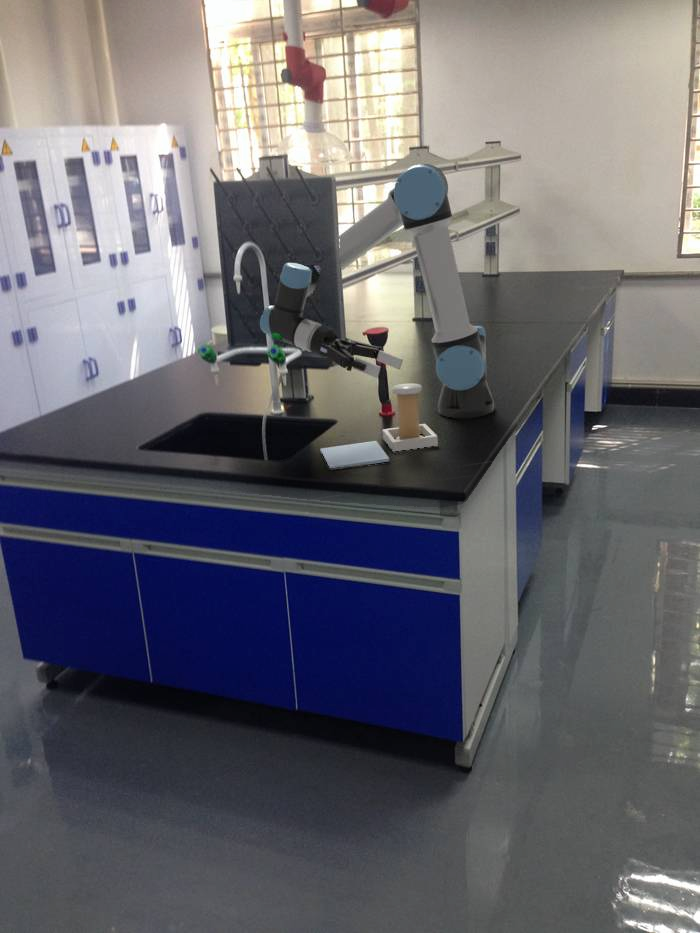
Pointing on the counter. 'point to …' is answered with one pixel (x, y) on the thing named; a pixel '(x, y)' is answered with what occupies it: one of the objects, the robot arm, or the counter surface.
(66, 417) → the counter surface
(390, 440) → the collar
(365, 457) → the pad
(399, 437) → the spool
